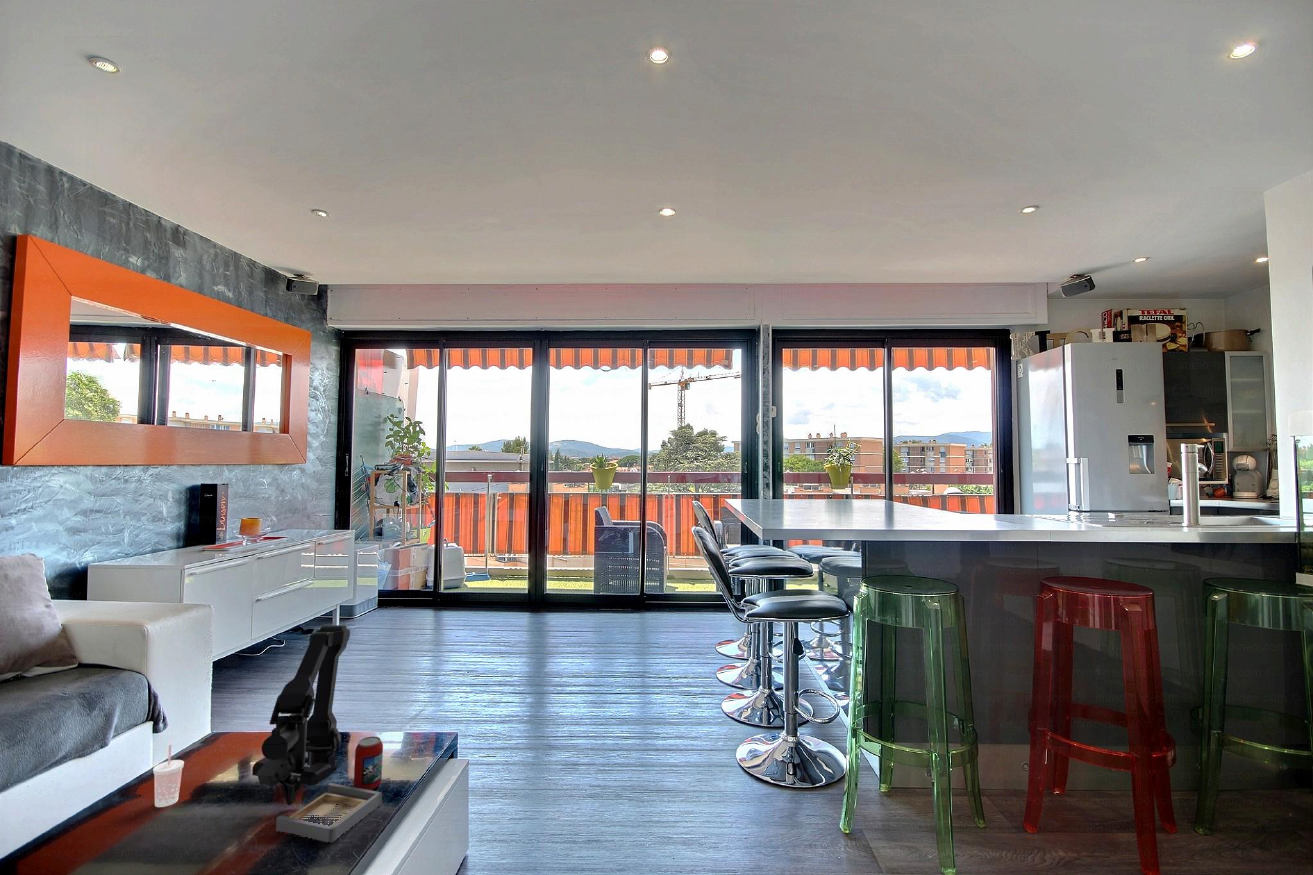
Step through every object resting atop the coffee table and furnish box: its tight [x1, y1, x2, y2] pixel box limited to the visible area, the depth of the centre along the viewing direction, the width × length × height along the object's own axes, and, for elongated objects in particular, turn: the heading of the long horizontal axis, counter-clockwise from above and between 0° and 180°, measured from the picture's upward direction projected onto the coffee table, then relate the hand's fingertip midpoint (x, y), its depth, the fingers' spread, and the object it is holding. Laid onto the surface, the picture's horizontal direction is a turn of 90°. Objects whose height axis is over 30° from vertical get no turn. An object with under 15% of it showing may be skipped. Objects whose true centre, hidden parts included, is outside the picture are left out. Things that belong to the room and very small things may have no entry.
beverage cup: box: [152, 744, 185, 808], centre depth 154 cm, size 6×6×14 cm
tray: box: [289, 792, 367, 826], centre depth 150 cm, size 13×13×2 cm
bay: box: [275, 782, 383, 844], centre depth 150 cm, size 16×17×3 cm
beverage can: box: [353, 736, 384, 791], centre depth 164 cm, size 7×7×12 cm
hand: (290, 804), depth 153 cm, fingers closed
